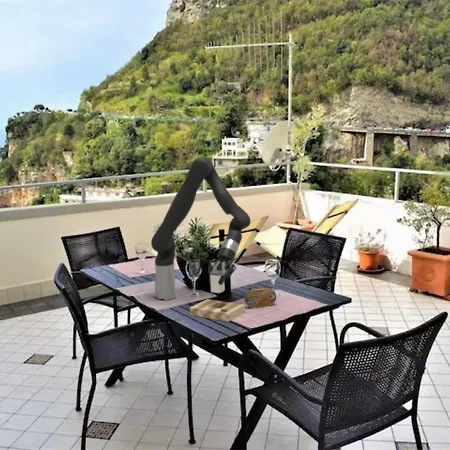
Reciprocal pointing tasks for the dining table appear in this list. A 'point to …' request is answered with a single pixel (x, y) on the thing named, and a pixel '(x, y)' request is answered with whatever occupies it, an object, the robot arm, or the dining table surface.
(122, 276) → the dining table surface
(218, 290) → the plug
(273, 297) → the tin
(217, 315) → the socket board
